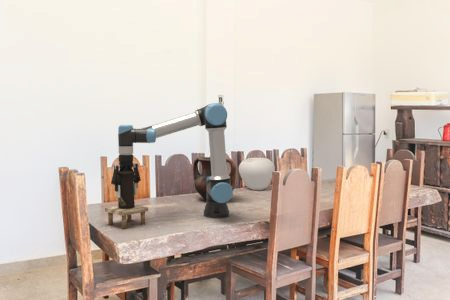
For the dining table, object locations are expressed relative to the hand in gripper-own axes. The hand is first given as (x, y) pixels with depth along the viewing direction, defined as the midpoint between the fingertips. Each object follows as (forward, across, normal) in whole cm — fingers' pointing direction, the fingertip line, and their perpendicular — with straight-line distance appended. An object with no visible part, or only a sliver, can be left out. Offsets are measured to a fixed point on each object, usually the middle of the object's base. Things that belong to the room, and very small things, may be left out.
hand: (126, 196), depth 233 cm
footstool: (+15, 0, 0) cm, 15 cm away
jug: (+15, -81, -11) cm, 83 cm away
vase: (+15, -137, -17) cm, 139 cm away
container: (+6, 0, 0) cm, 6 cm away
